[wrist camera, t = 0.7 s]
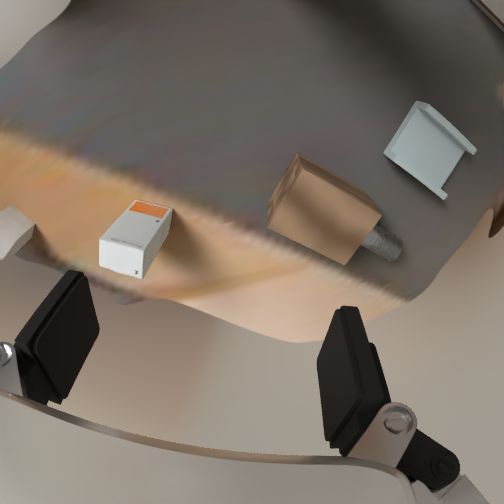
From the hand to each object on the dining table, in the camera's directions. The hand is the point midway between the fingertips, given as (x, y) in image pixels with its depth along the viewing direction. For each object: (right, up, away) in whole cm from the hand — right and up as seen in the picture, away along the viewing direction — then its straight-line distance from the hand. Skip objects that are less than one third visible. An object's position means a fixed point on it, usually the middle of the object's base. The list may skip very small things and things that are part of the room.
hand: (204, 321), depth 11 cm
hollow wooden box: (+11, +10, +30) cm, 34 cm away
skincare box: (-13, +8, +33) cm, 37 cm away
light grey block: (-41, +8, +35) cm, 54 cm away
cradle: (+26, +17, +25) cm, 40 cm away
